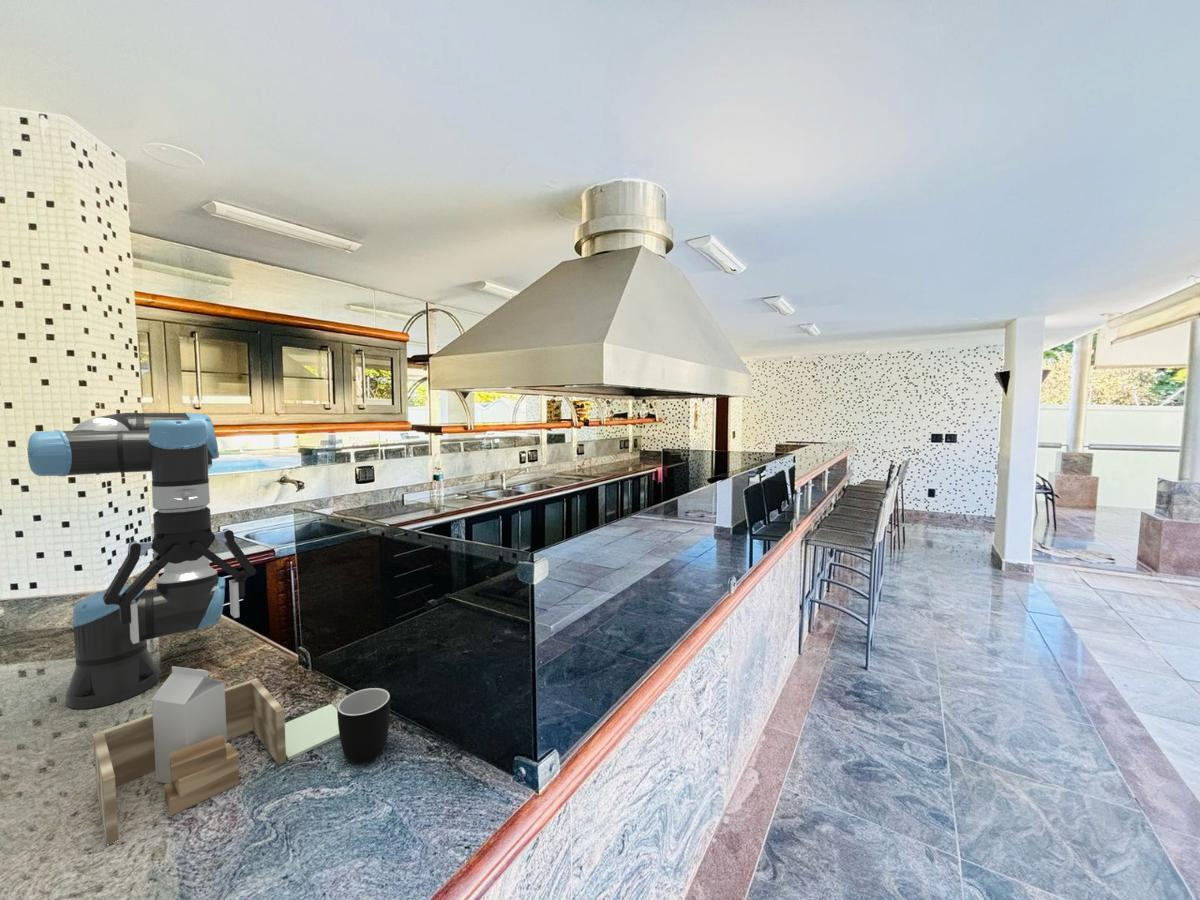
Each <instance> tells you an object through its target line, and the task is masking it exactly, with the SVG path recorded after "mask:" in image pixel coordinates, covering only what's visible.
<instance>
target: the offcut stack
mask: <svg viewBox="0 0 1200 900" xmlns="http://www.w3.org/2000/svg"><path fill="white" fill-rule="evenodd" d="M169 755H170V771H171V782H170V783H168V784H166V783H165V784H164V785H163V790H164V801H165V804H166V807H167V809H168V812H169V815H170V817H171V816H174V815H176V814H179V813H180V812H183V811H185V810H187V809H188V808H191V807H193V806H196V805H198V804H200V803H201V802H204V801H206V800H208V799H210V798H212V797H215V796H216V795H219V794H220V793H223V792H225V791H227V790H229V789H231V788H234V787H236V786H238V785H240V753H239V752H238V751H237V750H236V749H235V747H234V746H232V744H231V743H230V742H228V741H227V743H226V744H225V741H224V738H223V734H222V735H219V736H216V737H213V738H210V739H208V740H205V741H202V742H199V743H196V744H194V745H191V746H188V747H185V748H182V749H179V750H177V751H174V752H171V753H169Z"/></svg>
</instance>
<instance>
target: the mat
mask: <svg viewBox="0 0 1200 900" xmlns="http://www.w3.org/2000/svg"><path fill="white" fill-rule="evenodd" d="M337 738H340V734H339V727H338V715H337V707H335V706H334V704H332V703H330V704H328V705H326V706H323V707H321V708H319V709H316V710H313V711H311V712H309V713H306V714H303V715H302V716H298V717H296V718H293V719H292V720H289V721H288V722H287V721H286V722H285V744H286V760H287V761H291V760H292V759H295V758H297V757H299V756H302V755H304V754H306V753H307V752H310V751H311V750H314V749H316V748H318V747H320V746H322V745H325V744H326V743H328V742H331V741H333V740H336V739H337Z"/></svg>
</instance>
